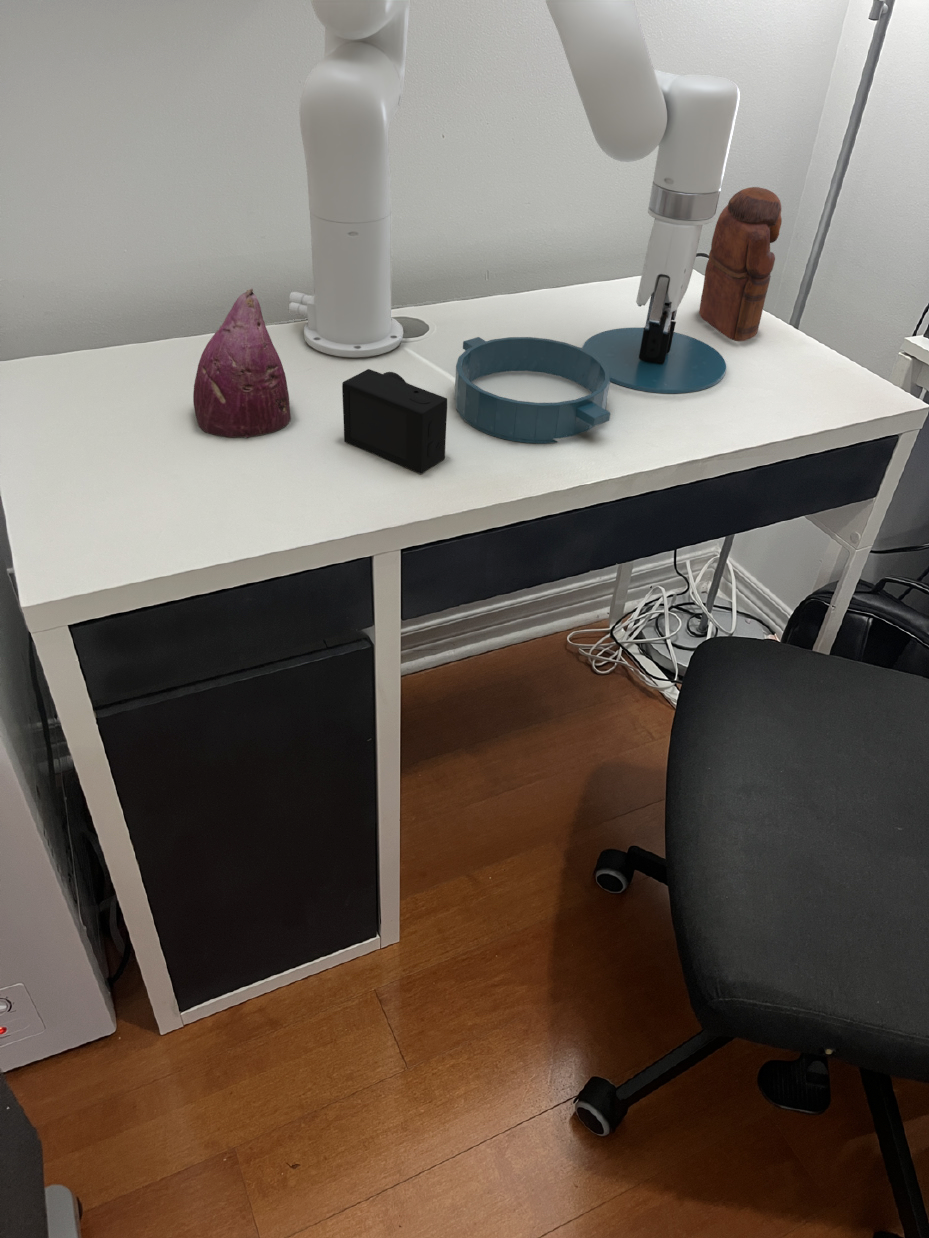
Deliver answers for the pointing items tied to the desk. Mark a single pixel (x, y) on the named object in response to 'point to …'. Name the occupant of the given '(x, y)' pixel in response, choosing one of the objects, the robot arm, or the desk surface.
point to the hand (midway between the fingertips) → (654, 354)
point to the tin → (530, 417)
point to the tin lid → (680, 373)
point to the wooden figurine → (741, 263)
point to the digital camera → (394, 419)
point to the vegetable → (241, 377)
